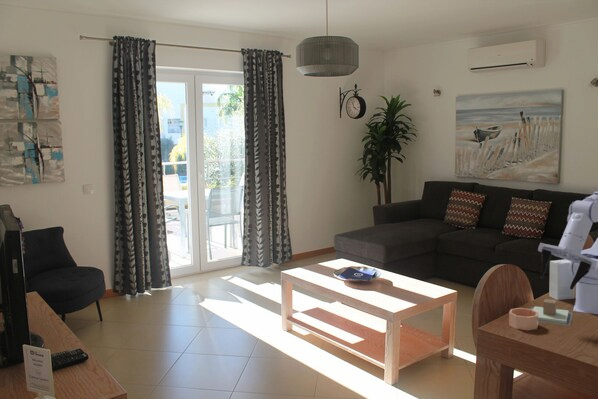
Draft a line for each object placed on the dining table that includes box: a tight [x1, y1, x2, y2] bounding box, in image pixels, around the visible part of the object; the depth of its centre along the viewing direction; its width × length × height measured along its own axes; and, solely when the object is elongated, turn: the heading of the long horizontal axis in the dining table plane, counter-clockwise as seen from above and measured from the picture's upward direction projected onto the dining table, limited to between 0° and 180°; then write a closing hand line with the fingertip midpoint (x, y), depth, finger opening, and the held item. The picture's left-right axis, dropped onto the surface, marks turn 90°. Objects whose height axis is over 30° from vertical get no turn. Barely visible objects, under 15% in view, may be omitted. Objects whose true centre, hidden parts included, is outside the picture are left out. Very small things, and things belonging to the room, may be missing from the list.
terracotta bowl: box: [508, 307, 539, 331], centre depth 142 cm, size 7×7×4 cm
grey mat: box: [530, 307, 574, 327], centre depth 148 cm, size 11×11×1 cm
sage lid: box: [533, 298, 570, 324], centre depth 148 cm, size 9×9×4 cm
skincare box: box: [548, 259, 576, 301], centre depth 163 cm, size 6×4×12 cm
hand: (556, 282), depth 140 cm, fingers open, 7 cm apart
